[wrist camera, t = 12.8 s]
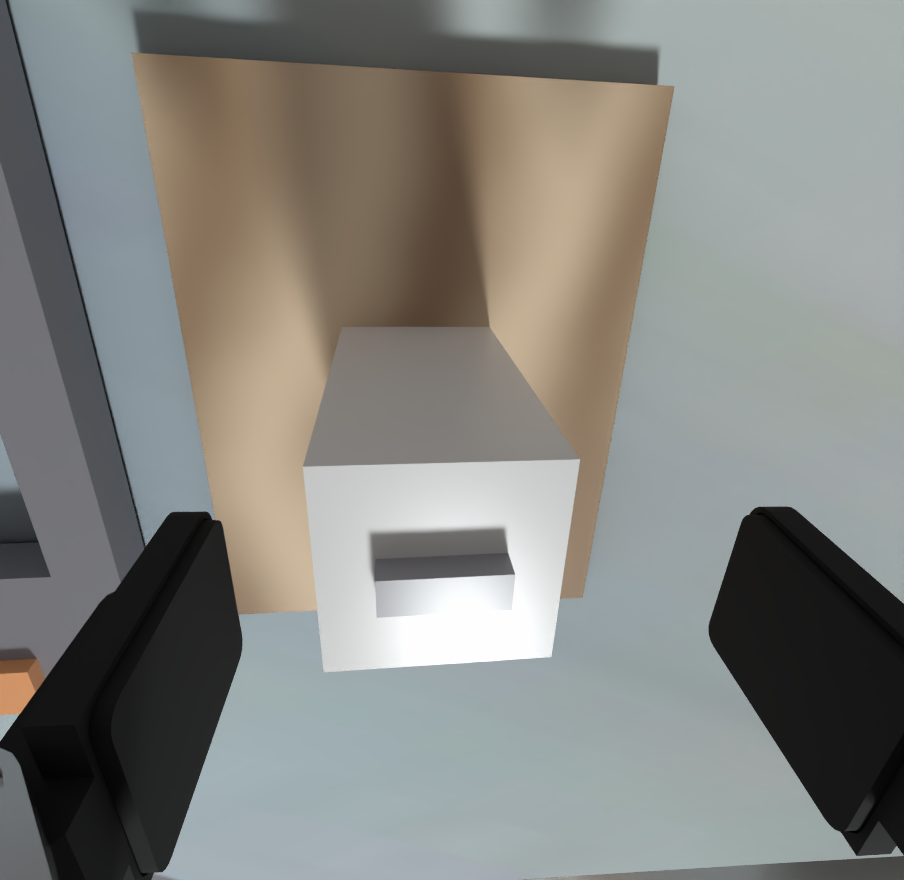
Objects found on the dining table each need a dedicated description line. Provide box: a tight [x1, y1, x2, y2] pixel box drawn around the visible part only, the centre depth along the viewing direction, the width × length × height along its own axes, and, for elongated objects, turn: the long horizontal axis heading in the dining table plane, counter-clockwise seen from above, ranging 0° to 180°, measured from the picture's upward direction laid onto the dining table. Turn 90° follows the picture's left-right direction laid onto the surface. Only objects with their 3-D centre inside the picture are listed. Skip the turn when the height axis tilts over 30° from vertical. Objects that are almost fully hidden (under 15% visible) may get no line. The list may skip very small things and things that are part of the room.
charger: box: [303, 327, 580, 672], centre depth 14 cm, size 5×5×10 cm
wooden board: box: [132, 53, 674, 614], centre depth 18 cm, size 14×18×1 cm
